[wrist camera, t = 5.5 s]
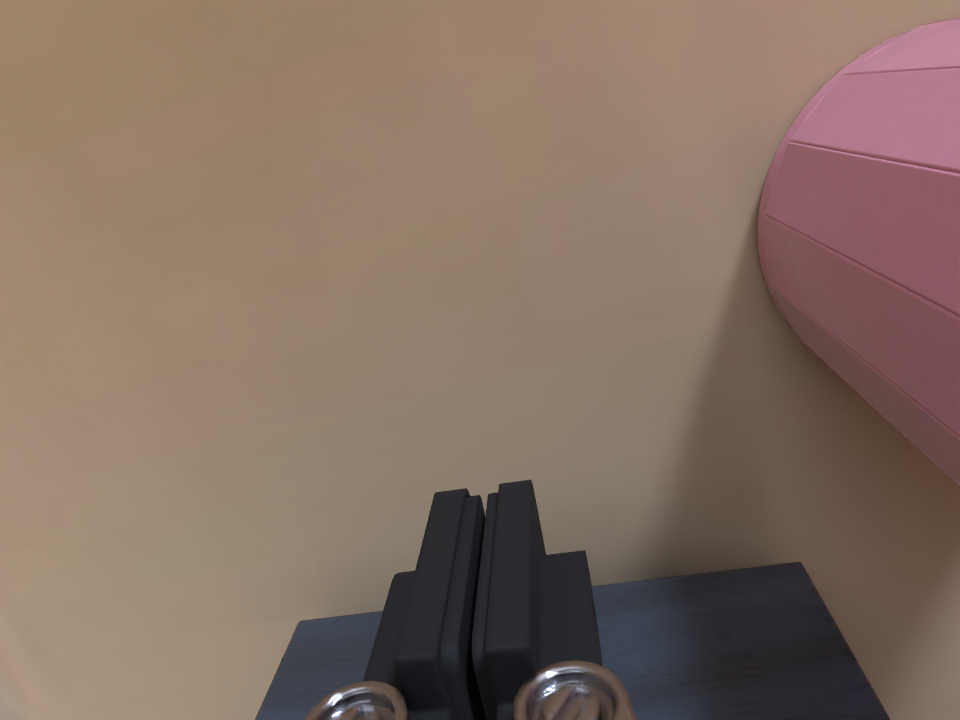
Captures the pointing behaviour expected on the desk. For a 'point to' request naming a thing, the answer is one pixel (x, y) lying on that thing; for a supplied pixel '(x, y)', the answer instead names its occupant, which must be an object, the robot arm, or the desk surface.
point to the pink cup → (878, 233)
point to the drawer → (656, 651)
